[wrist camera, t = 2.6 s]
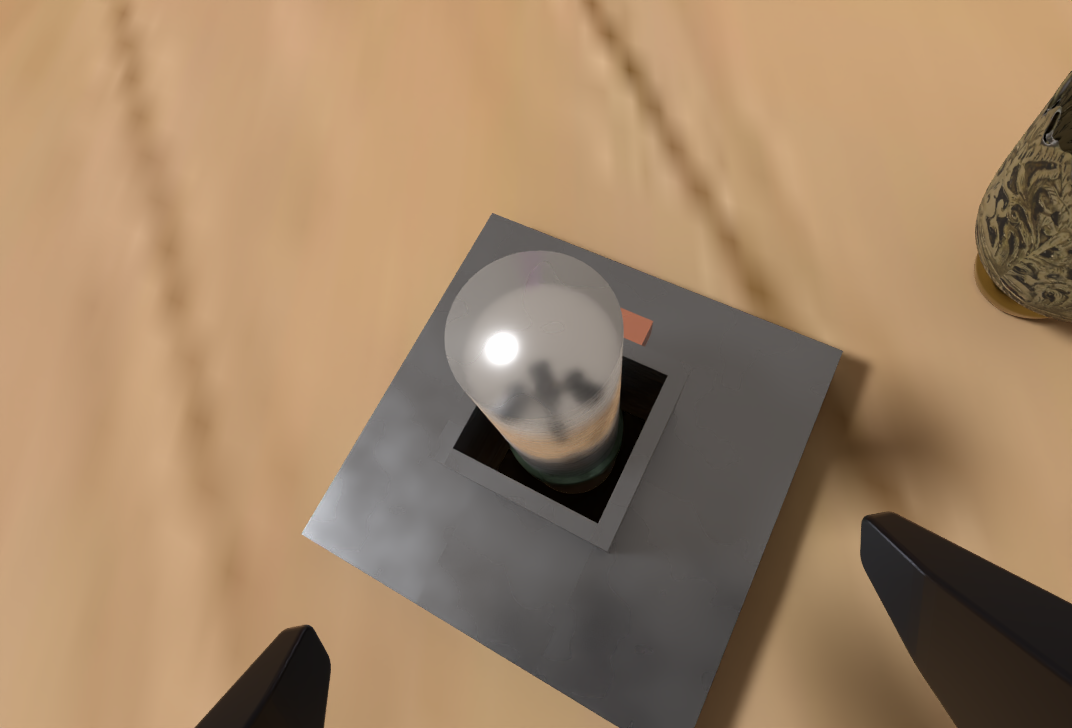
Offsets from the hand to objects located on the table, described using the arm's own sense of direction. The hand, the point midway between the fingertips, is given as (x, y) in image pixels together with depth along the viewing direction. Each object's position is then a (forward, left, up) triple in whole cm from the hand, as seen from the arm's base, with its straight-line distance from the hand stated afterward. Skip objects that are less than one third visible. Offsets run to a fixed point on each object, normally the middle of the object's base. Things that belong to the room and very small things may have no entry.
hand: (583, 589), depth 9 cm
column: (+3, -3, -11) cm, 12 cm away
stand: (+3, -3, -11) cm, 12 cm away
